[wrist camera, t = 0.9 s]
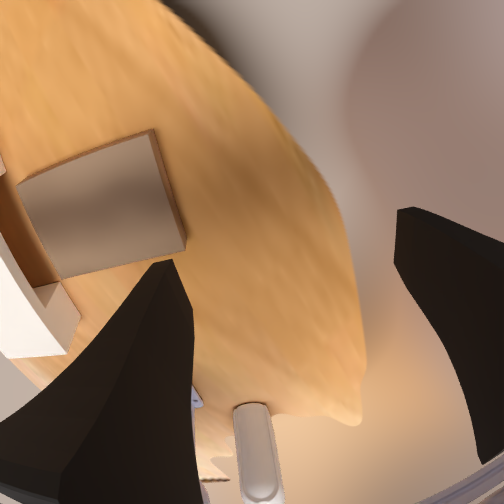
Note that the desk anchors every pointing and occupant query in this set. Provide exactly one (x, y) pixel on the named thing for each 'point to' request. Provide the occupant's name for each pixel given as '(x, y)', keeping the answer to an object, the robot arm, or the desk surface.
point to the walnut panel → (105, 207)
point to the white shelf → (32, 312)
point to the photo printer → (257, 455)
